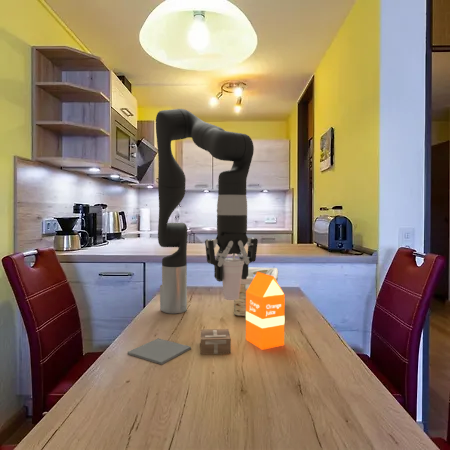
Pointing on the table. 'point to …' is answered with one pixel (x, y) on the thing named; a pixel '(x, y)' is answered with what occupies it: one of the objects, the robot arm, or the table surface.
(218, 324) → the table surface
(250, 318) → the orange juice
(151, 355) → the slate pad
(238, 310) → the storage basket
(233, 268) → the smoothie
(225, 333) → the lettered block
